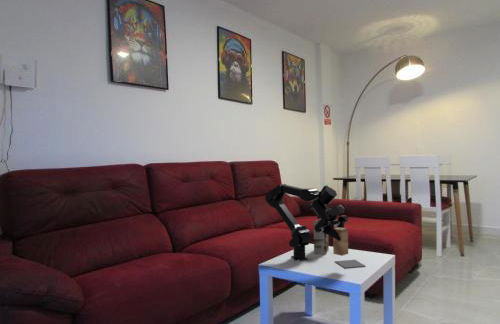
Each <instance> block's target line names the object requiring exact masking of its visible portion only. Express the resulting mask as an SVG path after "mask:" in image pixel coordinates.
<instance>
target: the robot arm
mask: <svg viewBox="0 0 500 324" xmlns="http://www.w3.org/2000/svg"><path fill="white" fill-rule="evenodd" d="M286 194H287V195H290V196H295V197H298V198H299V199H300V200H301V201H303V202H307V203H308V202H311V203H308V208H307V209H308V210H311V211H312V210H314V212H315V213H316V215H317V217H316V218H317V220H319V222H318V223H317V224H316V225H315V226H314V225H313V231H314V230H315V231H316V232H317V233H318V232H321V228H322V227H323V231H322V232H323V233H326V234H328V236H330V237H331V238H332V239H333V238H335V239H337V240H339V241H340V240H341V238H340V237H339V235H338V233H337V232H336V230H335V229H334V228H338V227H342V228H345V224H346V223H347V222H348V221H349V220H350V218H349V217H348V216H347V215H346V214H345V210H346V208H345V207H344V206H343V205H342V204H338V205H337V206H336V207H333V208H330V207H328V206H327V205H330V204H331V203H332V201H333V200H334V199H335V198H336V197H337V196H338V193H337V191H336V190H335V189H333V188H332V187H330V186H328V185H324V186H323V187H322V189H321V190H320V191H318V189H317V188H315V187H314V188H301V187H298V186H292V185H289V184H286V183H281V184H278V185H276V186H275V187H274V188H272V189H271V190H269V191H268V192H267V193H266V194H265V196H264V200H265V202H266V203H267V204H268V205H269V206H270V207H271V208H274V209H275V210H276V212H277V213H278V214H279V216H280V217H281V218H282V220H283V221H284V223H285V224H286V226H287V227H288V228H289V230H290V235H291V239H290V240H289V241H288V245H289V247H291V248H292V249H293V251H292V252H293V255H291V256H290V257H291V258H292V259H293V260H294V261H305V260H308V259H309V258H308V257H307V256H306V246H308V245H310V241H311V240H312V239H311V237H312V235H311V231H310V230H309V229H308V227H307V226H306V225H301V224H299V222H298V221H297V220H296V218H295V217H294V216H293V214H292V213H291V212H290V210H289V209H288V208H287V206H286V204H284V196H285V195H286ZM342 214H345V215H342Z"/></svg>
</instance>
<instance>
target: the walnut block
mask: <svg viewBox="0 0 500 324" xmlns="http://www.w3.org/2000/svg"><path fill="white" fill-rule="evenodd" d="M334 229H335V230H336V232H337V233H338V235H339V237H340V238H341V240H340V241H339V240H337V239H335V238H333V237H332V239H333V241H332V243H333V244H332V245H333V255H338V256H342V257H343V256H346V255H348V254H349V228H347V227H344V228H342V227H338V228H336V227H334Z"/></svg>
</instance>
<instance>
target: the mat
mask: <svg viewBox="0 0 500 324" xmlns="http://www.w3.org/2000/svg"><path fill="white" fill-rule="evenodd" d="M334 262H335V264H337V265H339V266H341V268H343V269H354V268H365V267H366V265H365V264H363V263H362V262H360V261H358V260H357V259H345V260H335V261H334Z"/></svg>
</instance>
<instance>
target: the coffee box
mask: <svg viewBox="0 0 500 324" xmlns="http://www.w3.org/2000/svg"><path fill="white" fill-rule="evenodd" d="M319 220H320V219H315V221H313V227H314V226H315V225H316V224H317V223H318V222H319ZM322 231H323V227H322V228H321V232H318V233H317V232H316V231H315V230H314V229H313V254H318V255H319V254H321V255H326V254H327V253H328V251H330V250H329V235H328V234H326V233H323V232H322Z"/></svg>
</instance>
